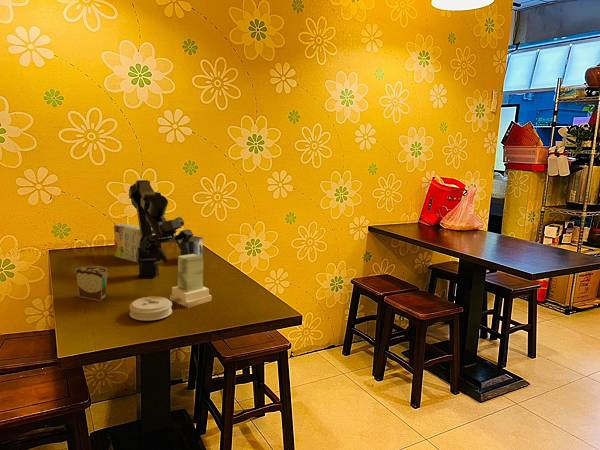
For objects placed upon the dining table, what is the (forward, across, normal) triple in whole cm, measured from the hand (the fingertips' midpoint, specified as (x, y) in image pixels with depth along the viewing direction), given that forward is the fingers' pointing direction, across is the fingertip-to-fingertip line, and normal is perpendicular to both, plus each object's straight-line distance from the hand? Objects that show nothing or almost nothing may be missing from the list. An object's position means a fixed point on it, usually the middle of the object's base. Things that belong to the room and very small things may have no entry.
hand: (178, 259), depth 158 cm
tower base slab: (+14, 0, +5) cm, 15 cm away
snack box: (-27, +16, +46) cm, 56 cm away
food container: (-4, -20, +23) cm, 30 cm away
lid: (+15, -17, +4) cm, 23 cm away
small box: (-14, +32, +33) cm, 48 cm away
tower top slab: (+13, 0, +3) cm, 13 cm away
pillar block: (+11, 0, +2) cm, 11 cm away
